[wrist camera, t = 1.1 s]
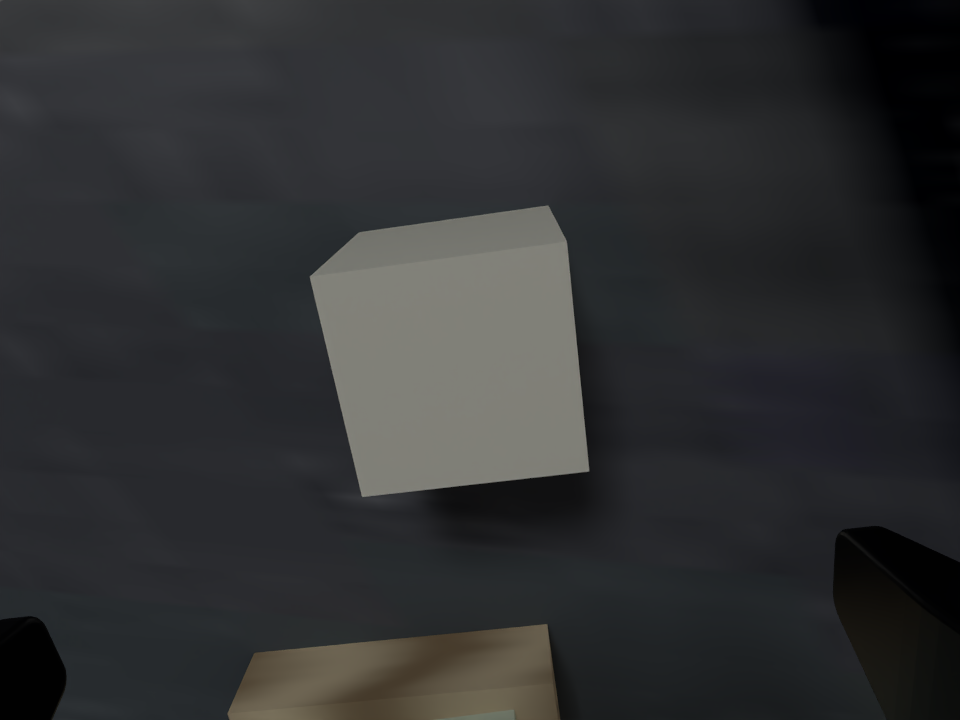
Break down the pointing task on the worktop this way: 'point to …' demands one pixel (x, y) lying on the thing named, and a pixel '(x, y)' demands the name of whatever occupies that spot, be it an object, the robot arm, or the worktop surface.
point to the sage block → (487, 716)
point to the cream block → (455, 352)
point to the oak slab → (405, 679)
